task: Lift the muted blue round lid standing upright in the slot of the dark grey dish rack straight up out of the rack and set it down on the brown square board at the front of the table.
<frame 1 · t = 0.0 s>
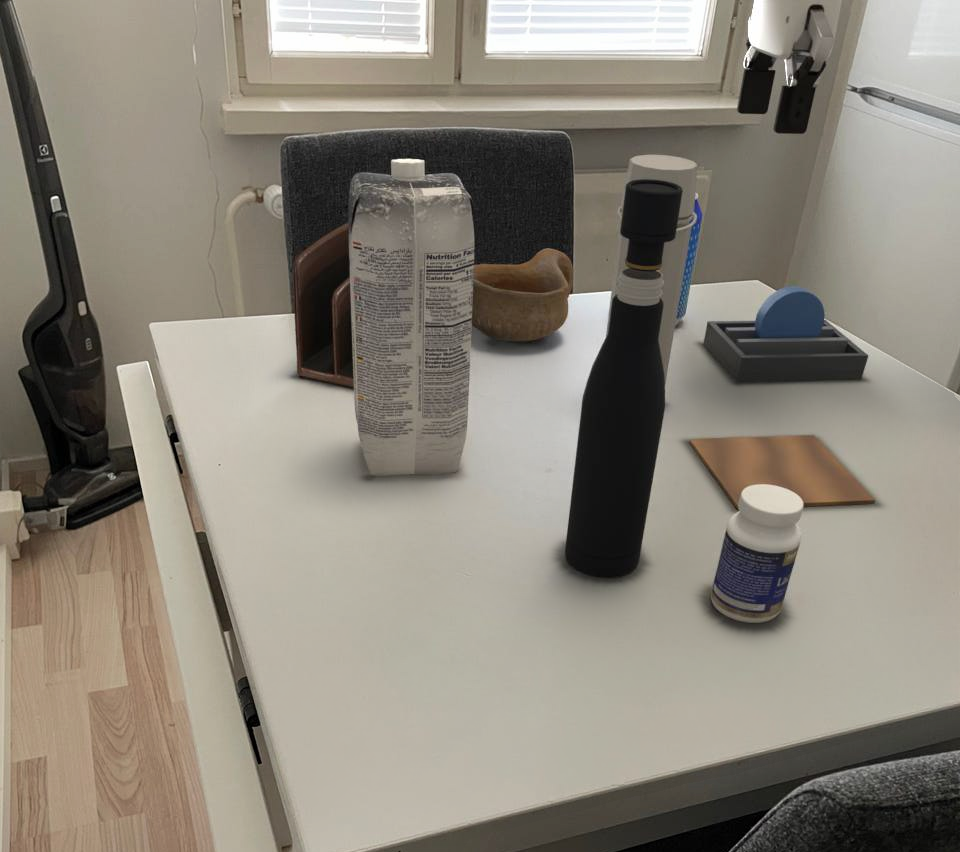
hand: (769, 122, 100), 28 cm above the table, tool pointing down, fingers open, 9 cm apart
wine bottle: (601, 559, 85), on the table
water bottle: (628, 408, 111), on the table
brown square board: (777, 471, 100), on the table
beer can: (652, 321, 133), on the table
blue lid: (782, 353, 123), point 1 cm above the table, touching dish rack
dish rack: (780, 361, 123), on the table
bowl: (519, 331, 128), on the table
pill bottle: (744, 606, 81), on the table
letter holder: (374, 357, 119), on the table
juice carton: (410, 461, 98), on the table
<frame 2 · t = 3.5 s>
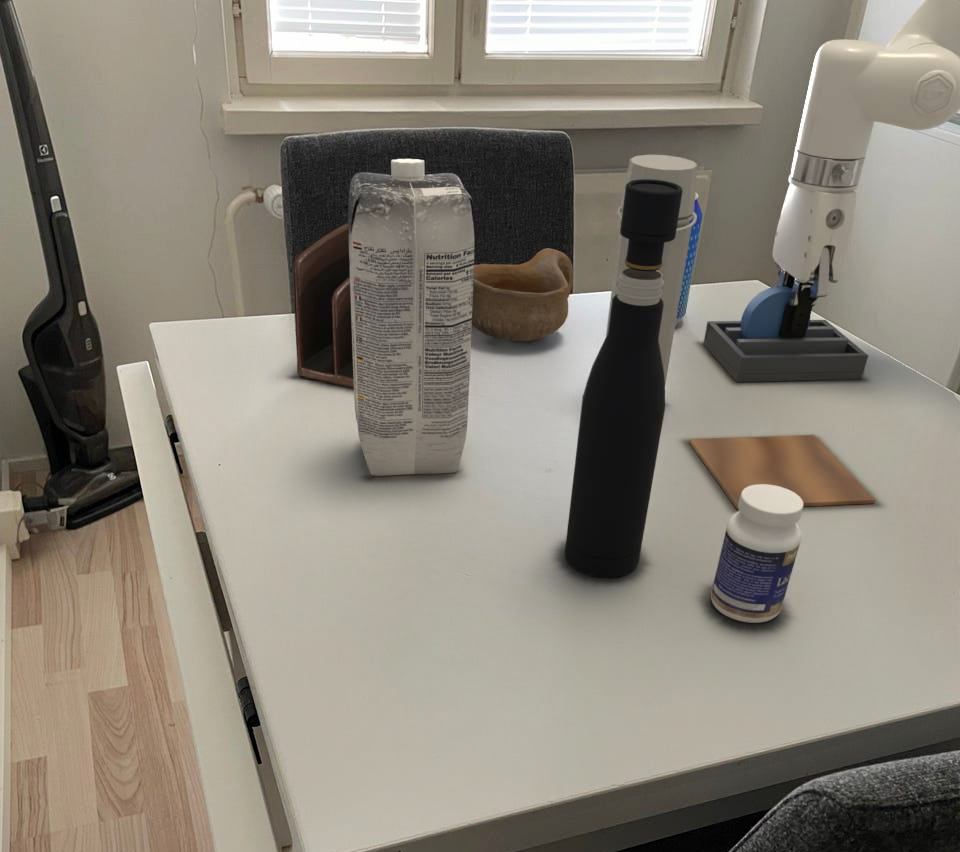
hand: (787, 331, 121), 4 cm above the table, tool pointing down, fingers closed on blue lid, 2 cm apart
blue lid: (782, 350, 122), point 1 cm above the table, tilted 27°, touching dish rack, gripper
everything else where it was.
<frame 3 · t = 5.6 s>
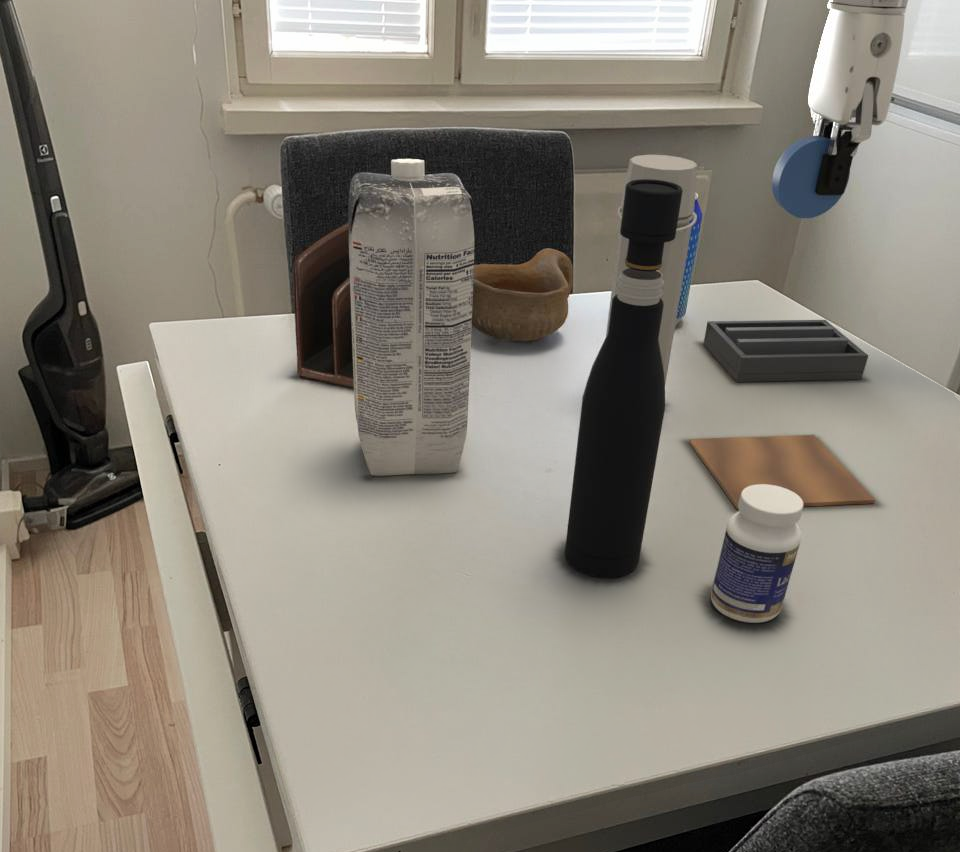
hand: (823, 189, 109), 20 cm above the table, tool pointing down, fingers closed on blue lid
blue lid: (818, 212, 111), point 18 cm above the table, tilted 27°, touching gripper
everything else where it was.
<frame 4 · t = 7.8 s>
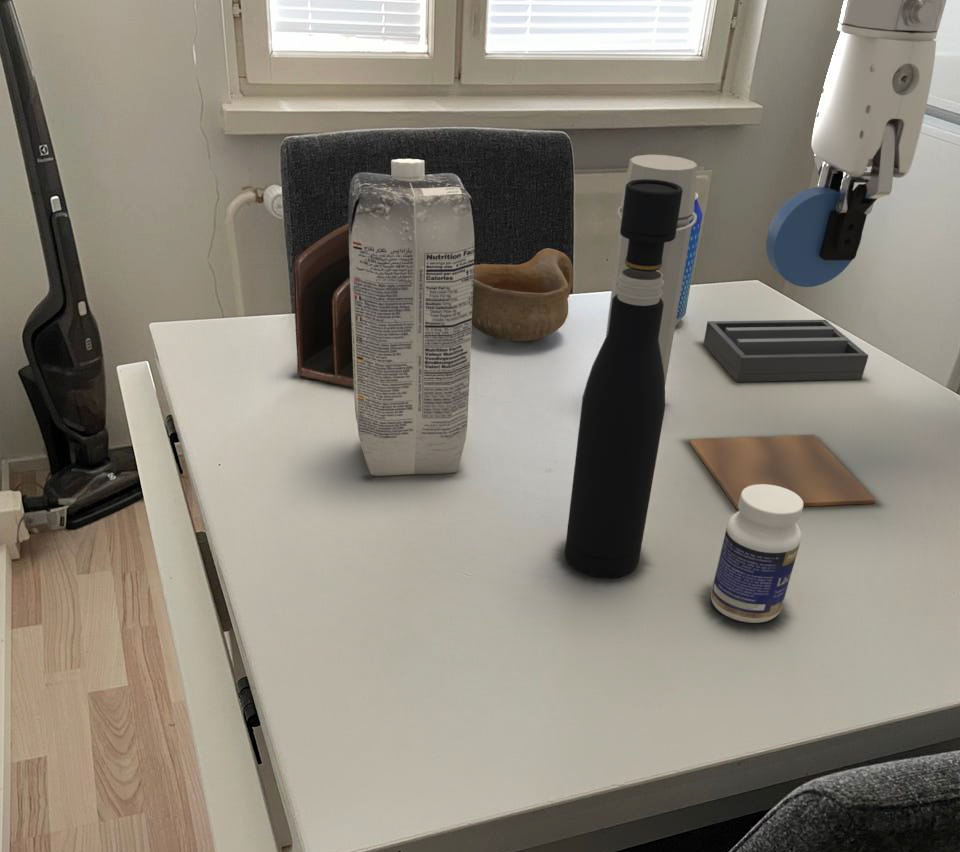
hand: (830, 252, 89), 21 cm above the table, tool pointing down, fingers closed on blue lid
blue lid: (822, 278, 90), point 18 cm above the table, tilted 26°, touching gripper
everything else where it was.
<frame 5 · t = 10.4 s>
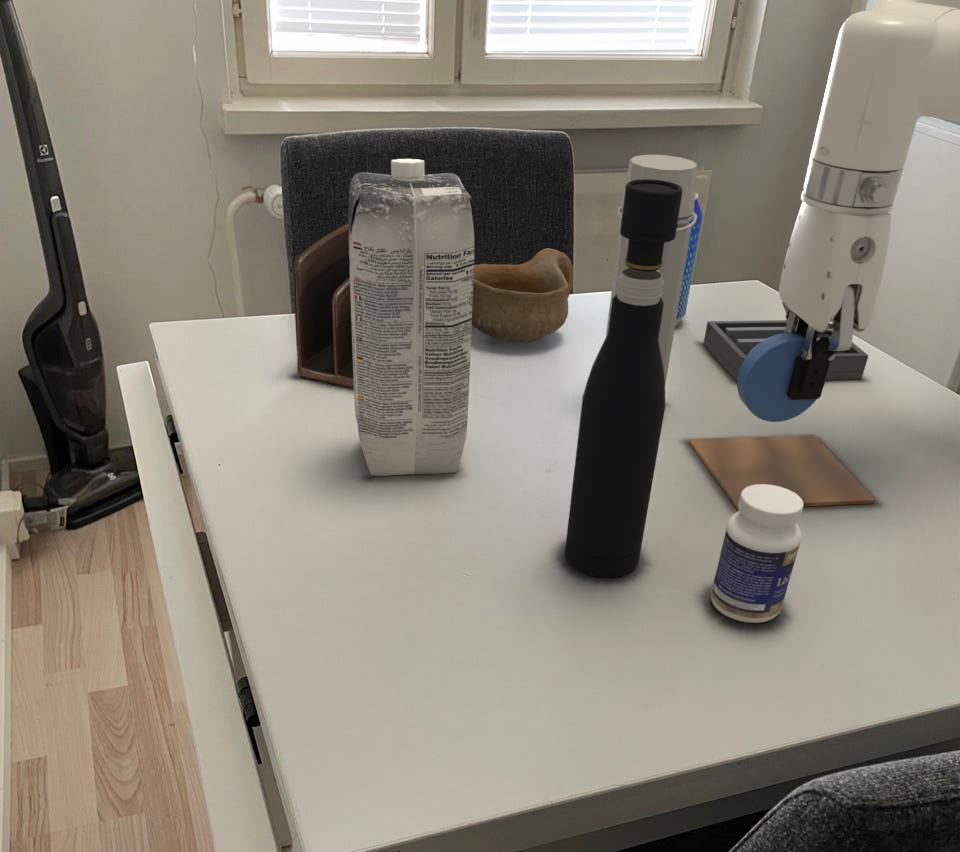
hand: (797, 390, 94), 9 cm above the table, tool pointing down, fingers closed on blue lid
blue lid: (790, 413, 96), point 6 cm above the table, tilted 26°, touching gripper
everything else where it was.
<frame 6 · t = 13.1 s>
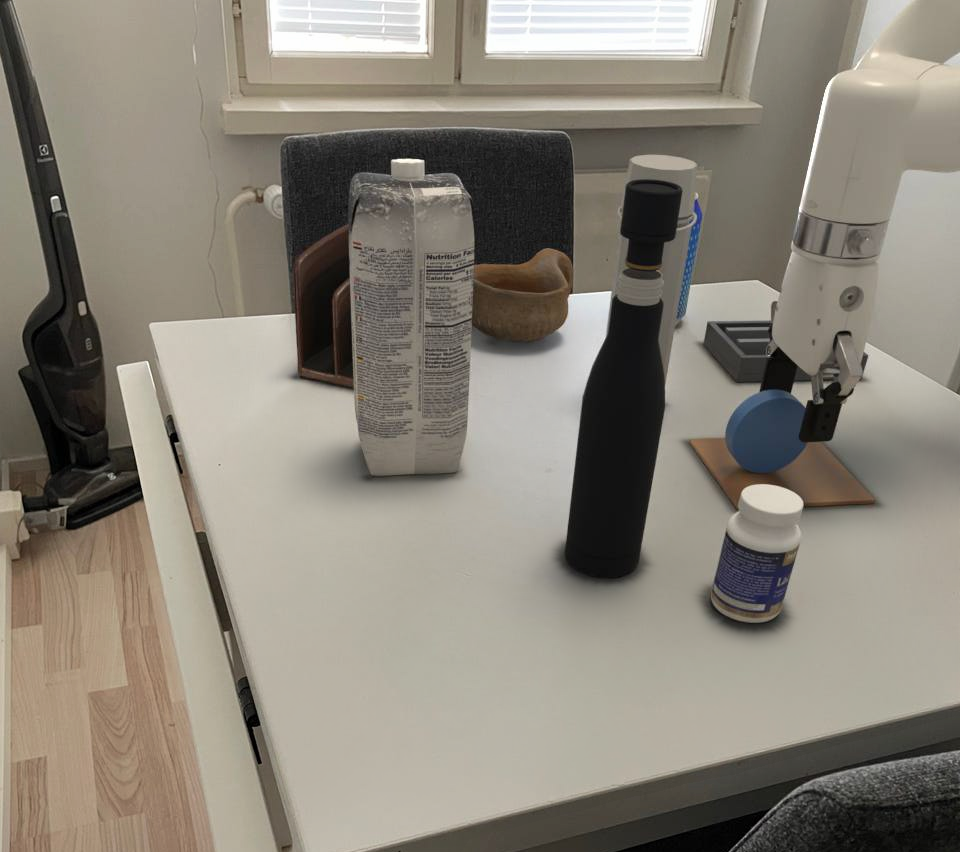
hand: (793, 417, 96), 6 cm above the table, tool pointing down, fingers open, 9 cm apart
blue lid: (777, 464, 99), point 1 cm above the table, tilted 28°, touching brown square board
everything else where it was.
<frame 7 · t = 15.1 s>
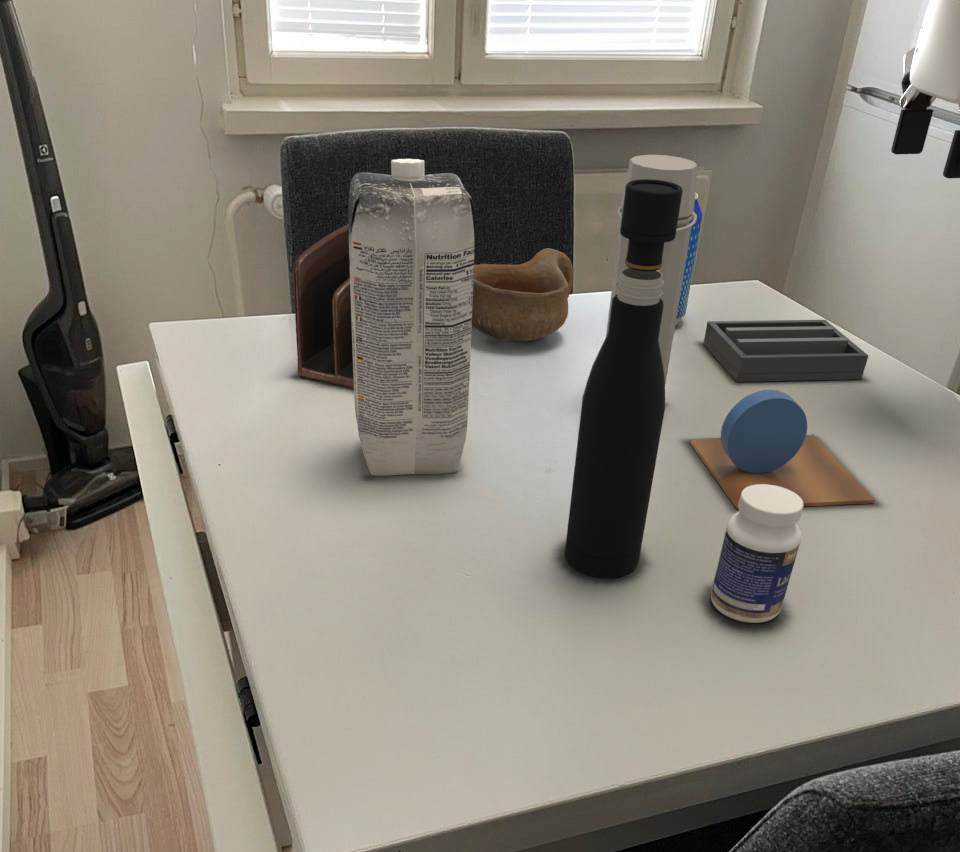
hand: (931, 164, 97), 26 cm above the table, tool pointing down, fingers open, 9 cm apart
blue lid: (777, 462, 99), point 1 cm above the table, tilted 34°, touching brown square board
everything else where it was.
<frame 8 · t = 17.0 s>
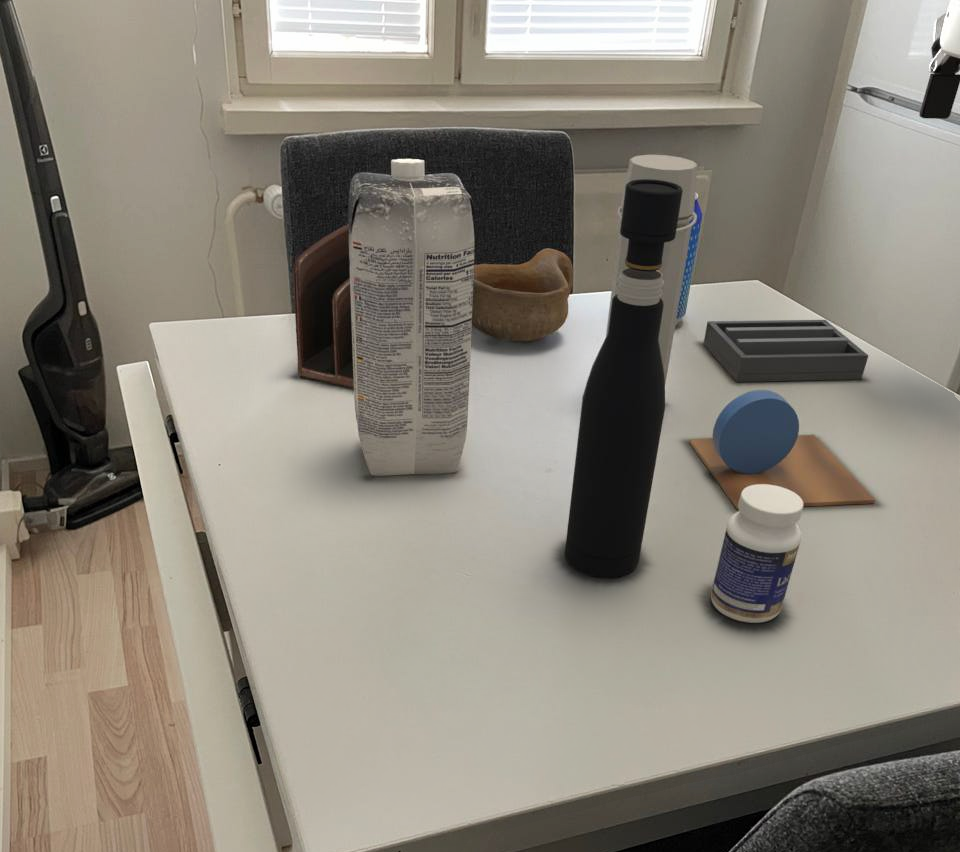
hand: (958, 127, 99), 28 cm above the table, tool pointing down, fingers open, 9 cm apart
blue lid: (777, 457, 99), point 2 cm above the table, tilted 46°, touching brown square board
everything else where it was.
at the end: blue lid inside the target area on the brown square board (0.5 cm from its centre), point 1.6 cm above the brown square board's base; blue lid touching brown square board; the gripper is holding nothing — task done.
